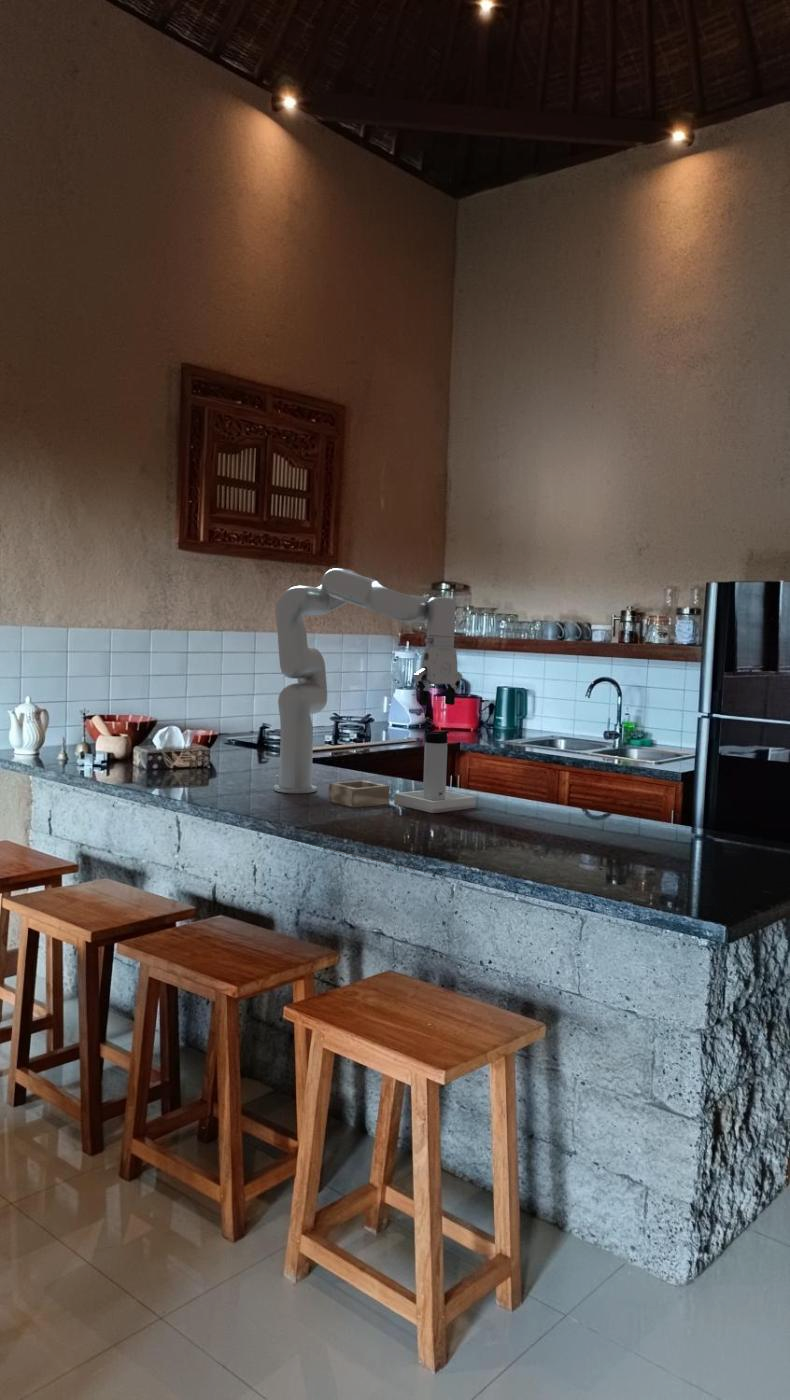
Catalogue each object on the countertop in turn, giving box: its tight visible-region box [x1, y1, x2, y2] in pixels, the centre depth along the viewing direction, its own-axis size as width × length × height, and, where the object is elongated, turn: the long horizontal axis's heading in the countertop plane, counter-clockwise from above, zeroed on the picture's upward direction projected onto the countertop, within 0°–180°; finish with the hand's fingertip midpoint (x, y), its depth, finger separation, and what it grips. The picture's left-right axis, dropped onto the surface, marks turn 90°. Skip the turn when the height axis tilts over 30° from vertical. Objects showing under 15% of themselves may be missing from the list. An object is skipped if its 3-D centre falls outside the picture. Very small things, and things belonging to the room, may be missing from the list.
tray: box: [393, 789, 477, 814], centre depth 282 cm, size 16×16×3 cm
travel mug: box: [422, 730, 450, 801], centre depth 282 cm, size 6×7×20 cm
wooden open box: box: [328, 779, 390, 808], centre depth 284 cm, size 12×12×5 cm
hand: (436, 704), depth 280 cm, fingers open, 9 cm apart
